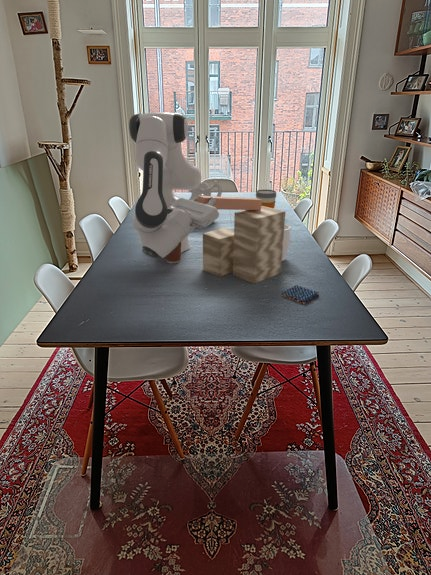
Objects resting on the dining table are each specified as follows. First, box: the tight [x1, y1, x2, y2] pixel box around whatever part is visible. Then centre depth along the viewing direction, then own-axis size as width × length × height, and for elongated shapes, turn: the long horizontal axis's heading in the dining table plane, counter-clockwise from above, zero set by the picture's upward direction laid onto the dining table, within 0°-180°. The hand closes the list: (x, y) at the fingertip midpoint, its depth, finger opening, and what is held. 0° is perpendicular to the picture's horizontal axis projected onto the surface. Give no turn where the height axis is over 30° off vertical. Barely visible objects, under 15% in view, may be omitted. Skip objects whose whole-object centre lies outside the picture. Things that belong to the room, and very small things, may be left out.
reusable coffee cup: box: [255, 189, 277, 209], centre depth 248 cm, size 13×13×15 cm
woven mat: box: [281, 284, 320, 305], centre depth 148 cm, size 10×11×2 cm
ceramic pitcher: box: [188, 179, 223, 211], centre depth 233 cm, size 22×20×25 cm
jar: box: [282, 224, 292, 262], centre depth 179 cm, size 11×10×15 cm
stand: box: [232, 206, 287, 284], centre depth 161 cm, size 16×12×26 cm
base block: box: [202, 227, 234, 277], centre depth 167 cm, size 12×10×16 cm
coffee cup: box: [165, 240, 183, 264], centre depth 177 cm, size 9×9×12 cm
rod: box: [197, 195, 262, 211], centre depth 150 cm, size 28×4×4 cm, turn 127°
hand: (208, 197), depth 143 cm, fingers closed on rod, 4 cm apart
